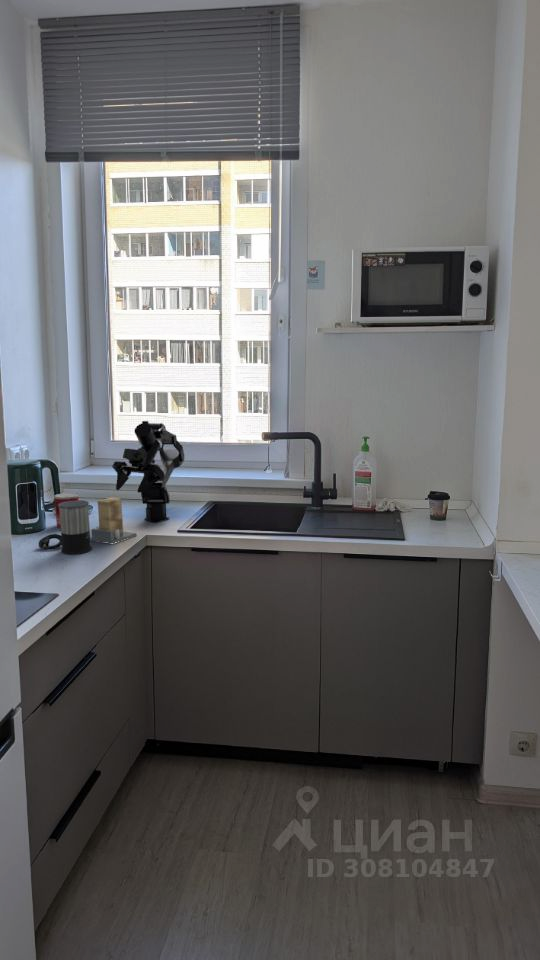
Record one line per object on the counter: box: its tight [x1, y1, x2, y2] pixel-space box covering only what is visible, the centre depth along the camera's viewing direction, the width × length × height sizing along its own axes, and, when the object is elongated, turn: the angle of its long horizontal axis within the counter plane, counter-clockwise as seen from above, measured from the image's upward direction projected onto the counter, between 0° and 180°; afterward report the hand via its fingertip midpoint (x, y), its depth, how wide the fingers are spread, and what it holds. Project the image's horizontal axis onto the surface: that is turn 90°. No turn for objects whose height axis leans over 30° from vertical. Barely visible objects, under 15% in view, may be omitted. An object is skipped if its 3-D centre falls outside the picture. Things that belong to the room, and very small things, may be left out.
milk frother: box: [38, 499, 93, 555], centre depth 228 cm, size 14×16×15 cm
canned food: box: [54, 492, 79, 529], centre depth 258 cm, size 8×8×11 cm
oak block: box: [97, 497, 124, 538], centre depth 239 cm, size 6×4×12 cm
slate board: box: [90, 526, 137, 543], centre depth 241 cm, size 12×9×4 cm
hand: (127, 490), depth 249 cm, fingers open, 9 cm apart
